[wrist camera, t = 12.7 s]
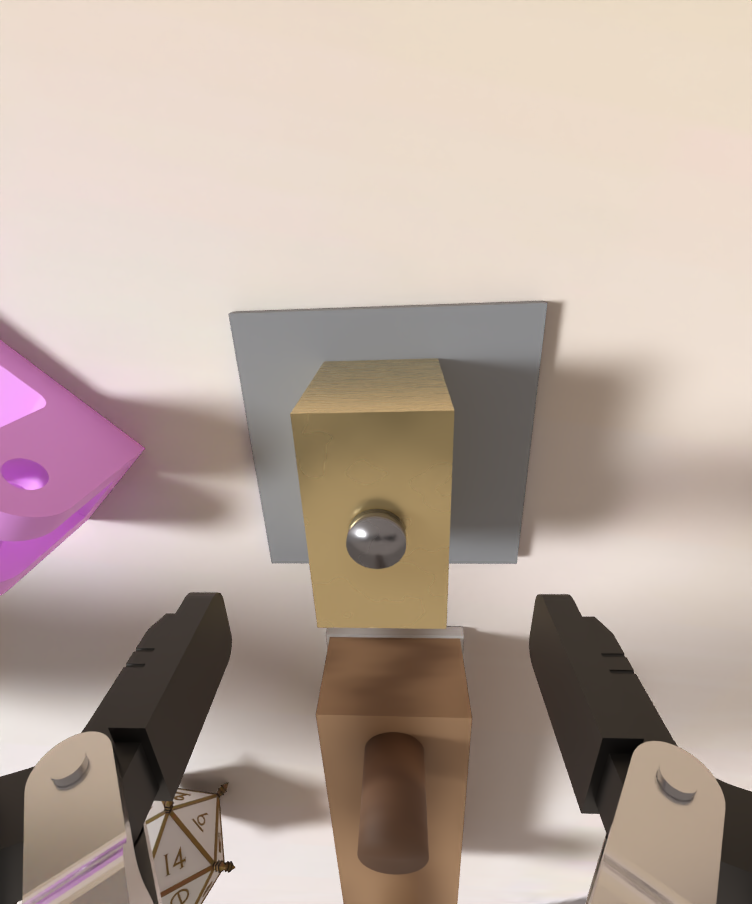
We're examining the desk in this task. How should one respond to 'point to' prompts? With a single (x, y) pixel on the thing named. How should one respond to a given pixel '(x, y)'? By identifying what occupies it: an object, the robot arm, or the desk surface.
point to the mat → (388, 338)
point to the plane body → (396, 761)
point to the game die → (187, 845)
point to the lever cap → (377, 491)
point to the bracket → (49, 464)
